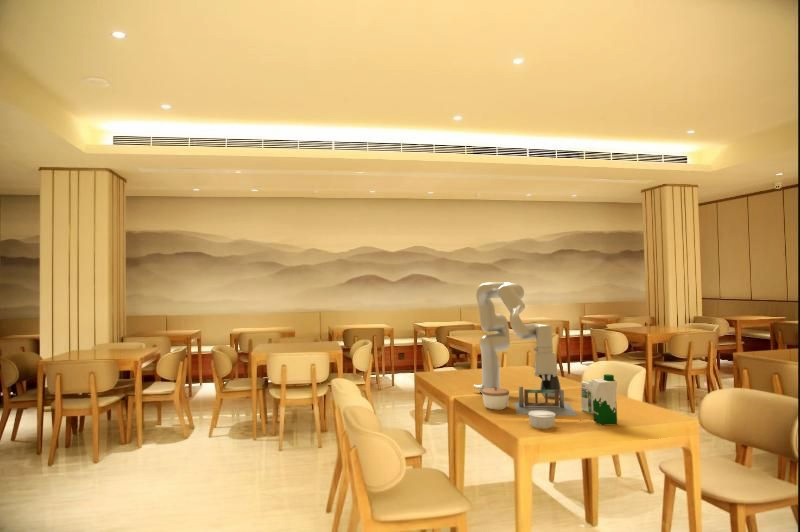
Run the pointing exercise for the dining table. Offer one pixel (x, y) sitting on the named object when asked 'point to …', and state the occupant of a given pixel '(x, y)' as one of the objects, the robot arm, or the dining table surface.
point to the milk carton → (605, 400)
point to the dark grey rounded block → (551, 386)
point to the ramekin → (542, 419)
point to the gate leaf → (537, 397)
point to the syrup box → (587, 396)
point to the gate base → (562, 410)
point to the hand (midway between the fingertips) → (546, 388)
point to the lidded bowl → (495, 398)
